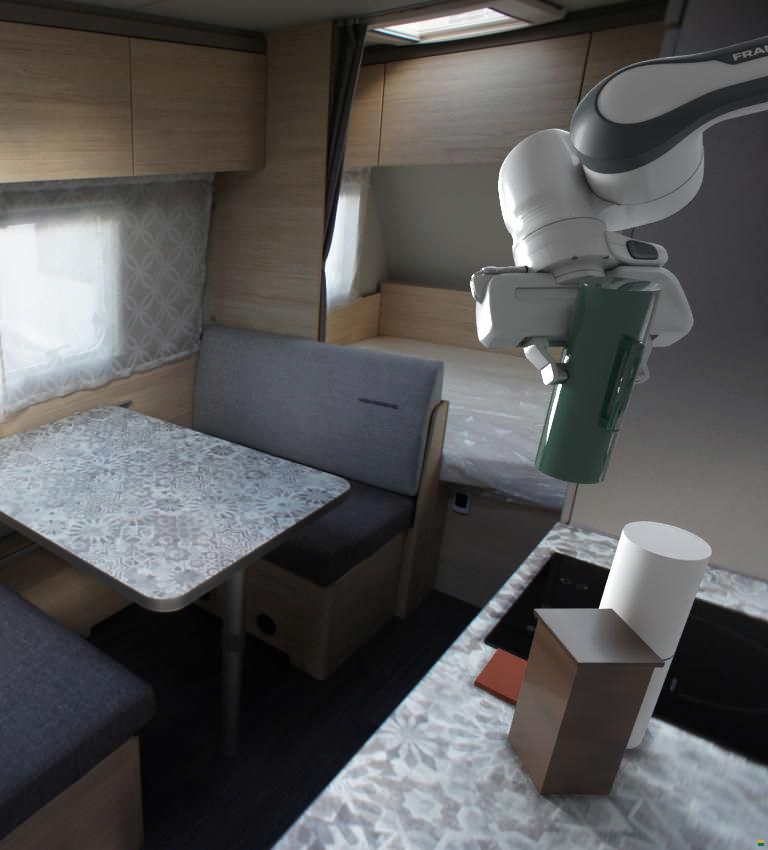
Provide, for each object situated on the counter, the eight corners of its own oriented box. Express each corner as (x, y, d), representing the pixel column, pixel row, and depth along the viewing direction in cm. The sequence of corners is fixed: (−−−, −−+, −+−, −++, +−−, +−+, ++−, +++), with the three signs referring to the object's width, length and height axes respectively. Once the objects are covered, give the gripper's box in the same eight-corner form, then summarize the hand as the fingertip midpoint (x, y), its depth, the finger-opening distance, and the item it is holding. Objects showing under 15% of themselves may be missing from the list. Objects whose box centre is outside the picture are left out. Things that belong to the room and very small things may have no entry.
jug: (522, 456, 75) (565, 277, 67) (583, 456, 75) (633, 276, 67) (564, 493, 67) (619, 295, 59) (632, 493, 67) (696, 295, 59)
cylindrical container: (644, 760, 73) (717, 568, 63) (567, 733, 76) (625, 547, 66) (639, 715, 78) (705, 532, 68) (568, 692, 82) (621, 514, 72)
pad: (497, 652, 88) (498, 648, 88) (558, 681, 83) (560, 676, 83) (473, 685, 83) (474, 680, 83) (537, 717, 78) (539, 712, 78)
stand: (571, 737, 76) (611, 608, 69) (615, 799, 69) (665, 662, 61) (501, 736, 76) (534, 608, 69) (537, 799, 69) (578, 662, 62)
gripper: (480, 250, 70) (507, 369, 65) (681, 246, 69) (725, 366, 64) (455, 284, 76) (478, 396, 71) (640, 281, 75) (677, 393, 70)
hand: (597, 382), depth 67 cm, fingers closed on jug, 6 cm apart
